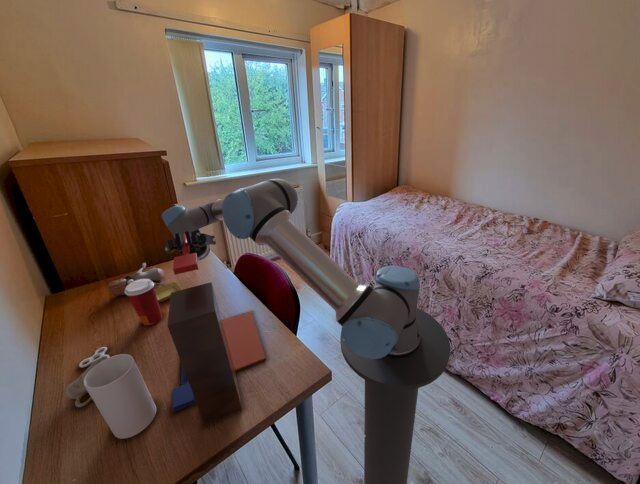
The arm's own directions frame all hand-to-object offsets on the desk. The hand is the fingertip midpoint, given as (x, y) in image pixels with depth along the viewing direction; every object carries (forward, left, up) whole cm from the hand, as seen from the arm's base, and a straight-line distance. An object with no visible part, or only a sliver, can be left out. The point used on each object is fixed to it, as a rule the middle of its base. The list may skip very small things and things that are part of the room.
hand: (183, 238), depth 67 cm
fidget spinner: (+30, -14, -37) cm, 49 cm away
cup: (+18, +12, -37) cm, 43 cm away
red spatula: (0, +1, -3) cm, 4 cm away
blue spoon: (+8, +5, -37) cm, 38 cm away
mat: (-6, -2, -37) cm, 37 cm away
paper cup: (+18, -25, -37) cm, 48 cm away
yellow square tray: (+14, -38, -37) cm, 55 cm away
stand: (0, +15, -37) cm, 40 cm away
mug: (+28, -2, -37) cm, 46 cm away
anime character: (+24, -49, -37) cm, 66 cm away
